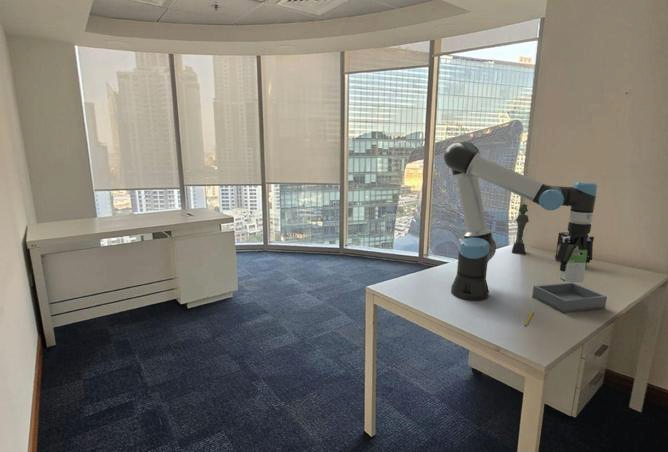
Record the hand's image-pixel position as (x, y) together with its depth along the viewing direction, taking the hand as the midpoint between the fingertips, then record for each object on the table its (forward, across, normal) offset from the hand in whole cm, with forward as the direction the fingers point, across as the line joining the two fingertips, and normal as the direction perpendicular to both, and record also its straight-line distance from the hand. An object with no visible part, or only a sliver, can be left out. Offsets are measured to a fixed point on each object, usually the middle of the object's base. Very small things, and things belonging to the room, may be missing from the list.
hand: (571, 277), depth 151 cm
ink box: (+1, 0, 0) cm, 1 cm away
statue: (+11, +33, +68) cm, 76 cm away
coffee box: (+11, +45, +45) cm, 65 cm away
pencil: (+11, -27, -9) cm, 31 cm away
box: (+11, 0, 0) cm, 11 cm away
